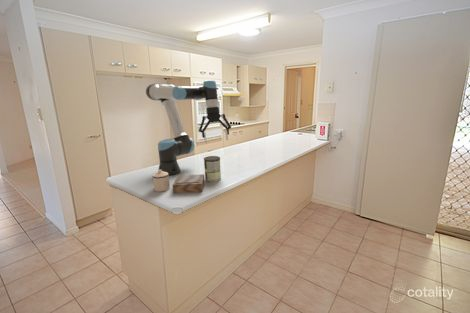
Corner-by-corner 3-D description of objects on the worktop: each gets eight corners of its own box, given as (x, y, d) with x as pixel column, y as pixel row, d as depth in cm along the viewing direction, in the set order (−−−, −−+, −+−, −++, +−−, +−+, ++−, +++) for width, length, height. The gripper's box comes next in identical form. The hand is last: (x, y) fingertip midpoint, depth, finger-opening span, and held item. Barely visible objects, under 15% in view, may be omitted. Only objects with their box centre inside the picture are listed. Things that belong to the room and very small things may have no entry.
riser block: (173, 193, 128) (172, 184, 126) (178, 182, 143) (178, 174, 142) (202, 192, 128) (201, 182, 127) (204, 181, 144) (204, 173, 142)
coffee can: (201, 179, 148) (200, 158, 144) (212, 175, 156) (211, 155, 152) (213, 182, 142) (212, 160, 138) (224, 178, 149) (223, 157, 146)
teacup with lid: (173, 188, 134) (171, 169, 131) (158, 193, 128) (156, 173, 125) (163, 183, 142) (161, 165, 139) (148, 187, 136) (146, 169, 133)
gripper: (192, 108, 134) (197, 144, 137) (233, 104, 139) (237, 139, 143) (191, 109, 141) (196, 143, 145) (230, 105, 146) (234, 138, 150)
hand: (216, 141), depth 144 cm, fingers open, 13 cm apart
